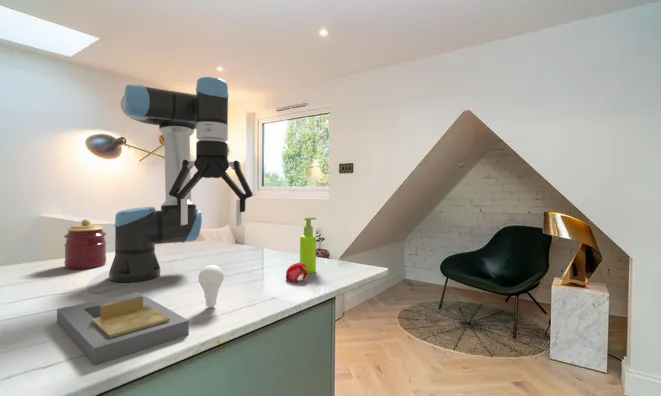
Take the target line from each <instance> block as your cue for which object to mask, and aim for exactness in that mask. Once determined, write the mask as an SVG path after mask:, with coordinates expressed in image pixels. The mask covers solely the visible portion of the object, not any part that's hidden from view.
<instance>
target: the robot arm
mask: <svg viewBox="0 0 661 396" xmlns="http://www.w3.org/2000/svg"><path fill="white" fill-rule="evenodd" d="M228 90H229V89H228V83H227V81H225V80H224V79H221V78H217V77H214V76H213V77H212V76H203V77H199V78H198V79H197V81H196V87H195V92H196V94H195V93H194V94H193V93H188V92H180V91H175V90H169V89H161V88H155V87H149V86H144V85H142V84H141V85H140V84H138V85H136V84H127V85H126V86H125V88H124V94H123V95H122V97H121V100H120V108H121V110H122V112H123V114H124V115H126V116H127V117H128V118H130V119H132V120H134V121H137V122H140V123H142V124H146V125H153V126H158V129H159V132H160V133H161V134H162V135H163V138H164V139H163V140H164V141H163V142H164V143H163V144H164V185H165V186H164V187H165V191H164V192H165V193H164V194H165V200H164V202H163V203H162V204H161V205H160V210H156V208H155V207H154V206H143V207H134V208H128V209H124V210H123V209H122V210H119V211H118V212H116V214H115V219H114V221H115V222H114V223H115V224H114V228H115V229H114V230H115V235H114V237H115V239H114V241H115V242H114V251H115V253H114V258H113V260H112V263H111V266H110V267H109V269H110V270H109V272H108V280H109V281H111V282H115V283H134V282H135V283H136V282H142V281H148V280H151V279H155V278H158V277H159V276H160V275H161V266H160V263H159V261H158V257H157V255H156V252H155V251H156V250H155V247H156V245H164V244H176V243H177V244H178V243H183V244H184V243H188V242H193V241H197V239H198V237H199V235H200V232H201V228H202V219H203V218H202V217H203V216H202V212H201V210H200V209H197V204H196V203H195V202H194V201H193V200H192V189H193V188H194V187H195V186H196V185H197V184H198V182H199V181H200V180H202V179H203V178H204V179H212V178H213V179H220V178H222V180H223V181H224V182H225V183H226V184H227V185H228V186H229V188H230V189H231V190H232V191H233V192H234V195H236V196H237V197H238V199H235V200H236V201H235V202H236V204H235V206H236V207H235V209H236V211H235V212H236V213H235V215H236V216H235V219H236V221H235V225H236V227H237V226H241V225H242V213H244V212H246V200H247V199H248V198H252V197H253V195H254V194H253V191H252V190H251V187H250V186H249V184H248V181H247V178H246V177H245V176H244V172H242V169H241V168H242V167H241V162H240V161H238V160H234V161H229V160H228V155H229V154H228V153H229V150H228V147H229V146H228V143H227V142H226V141H228V140H229V139H228V138H229V136H228V135H229V133H228V132H229V131H228V129H229V128H228V125H229V124H228V123H229V121H228V118H229V91H228ZM195 130H196V140H197V141H196V142H195V143H196V145H195V147H196V148H195V153H196V154H195V156H196V157H195V160H191V143H190V142H191V141H190V140H191V139H190V137H191V136H192V135H194V133H195ZM193 167H195V169H196V170H197V171H196V172H195V173H194V174H193V176H191V174H192V173H191V171H192V170H193ZM229 167H230V169H232V170H233V171H234V173H235V175H236V176H237V178H238V181H239V183H240V185H241V187H242V189H243V191H244V192H243V191H242V190H241V188H240V187H239V186H238V185H237V184H236V182H235V181H234V180H233V179H232V178H231V176H230V175H229V174H228V172H227V170H228V168H229ZM191 169H192V170H191Z"/></svg>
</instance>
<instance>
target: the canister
mask: <svg viewBox="0 0 661 396" xmlns="http://www.w3.org/2000/svg"><path fill="white" fill-rule="evenodd" d="M80 223H81V224H75V225H71V226H70V227H69V228H67V229H66V231H68V232H67V233H66V234H65V235H63V237H64V238H65V243H64V266H65V267H64V268H65V269H67V270H87V269H93V268H99V267H102V266H105V265H106V262H107V253H106V252H107V251H106V250H107V248H106V247H107V241H106V240H105V239H106V235H107V233H106V232H105V231H103V230H104V227H103V226H101V225H99V224H95V223H92V224H91V222H90V220H89V219H86V218H85V219H83V220H82V221H81V222H80Z"/></svg>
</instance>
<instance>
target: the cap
mask: <svg viewBox="0 0 661 396" xmlns="http://www.w3.org/2000/svg"><path fill="white" fill-rule="evenodd" d="M305 266H306V265H305V264H303V263H300V262H297V263H294V264H291V265H290V266H288V268H287V270H286V272H285V273H286V274H285V278H286V279H287V280H291V281H292V282H293V283H298V282H299V281H298V279H299V277H300V276H301V275H302V274H303V276H302V280H303V281H304V280H305V279H306V278H307V276H308V273H307V271H306V269H305V268H304V267H305Z"/></svg>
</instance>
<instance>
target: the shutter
mask: <svg viewBox="0 0 661 396" xmlns="http://www.w3.org/2000/svg"><path fill="white" fill-rule="evenodd" d="M168 321H170V318H168V317H167V316H165V315H163V314H162V313H160V312H158V311H157V310H155V309H153V308H151V307H150V306H144V307H143V297H142V296H140V297H135V298H131V299H126V300H121V301H117V302H112V303H107V304H103V305H100V317H98V318H94V319H92V323H93V324H94V325H96V326H97V327H98V328H99V329H100V330H101V331H102V332H103V333H104V334H105V335H107V336H108V337H109V338H112V337H115V336H119V335H122V334H126V333H129V332H133V331H136V330H140V329H143V328H147V327H150V326H154V325H157V324H161V323H164V322H168Z"/></svg>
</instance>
